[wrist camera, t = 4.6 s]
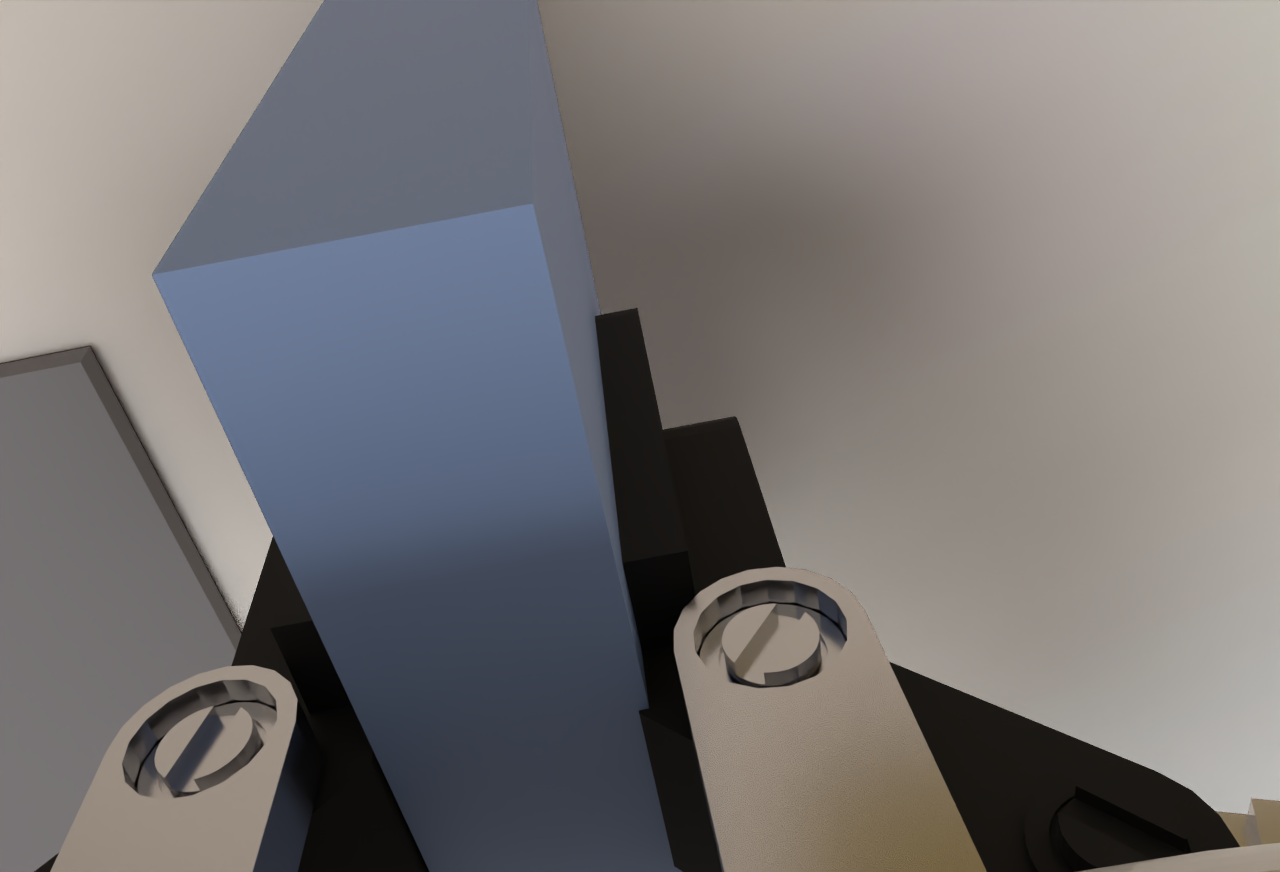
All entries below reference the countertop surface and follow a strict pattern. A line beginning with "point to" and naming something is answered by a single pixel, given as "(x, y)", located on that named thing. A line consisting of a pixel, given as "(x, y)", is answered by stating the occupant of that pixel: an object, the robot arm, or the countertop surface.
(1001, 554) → the countertop surface
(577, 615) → the card box
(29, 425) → the mat
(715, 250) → the countertop surface
